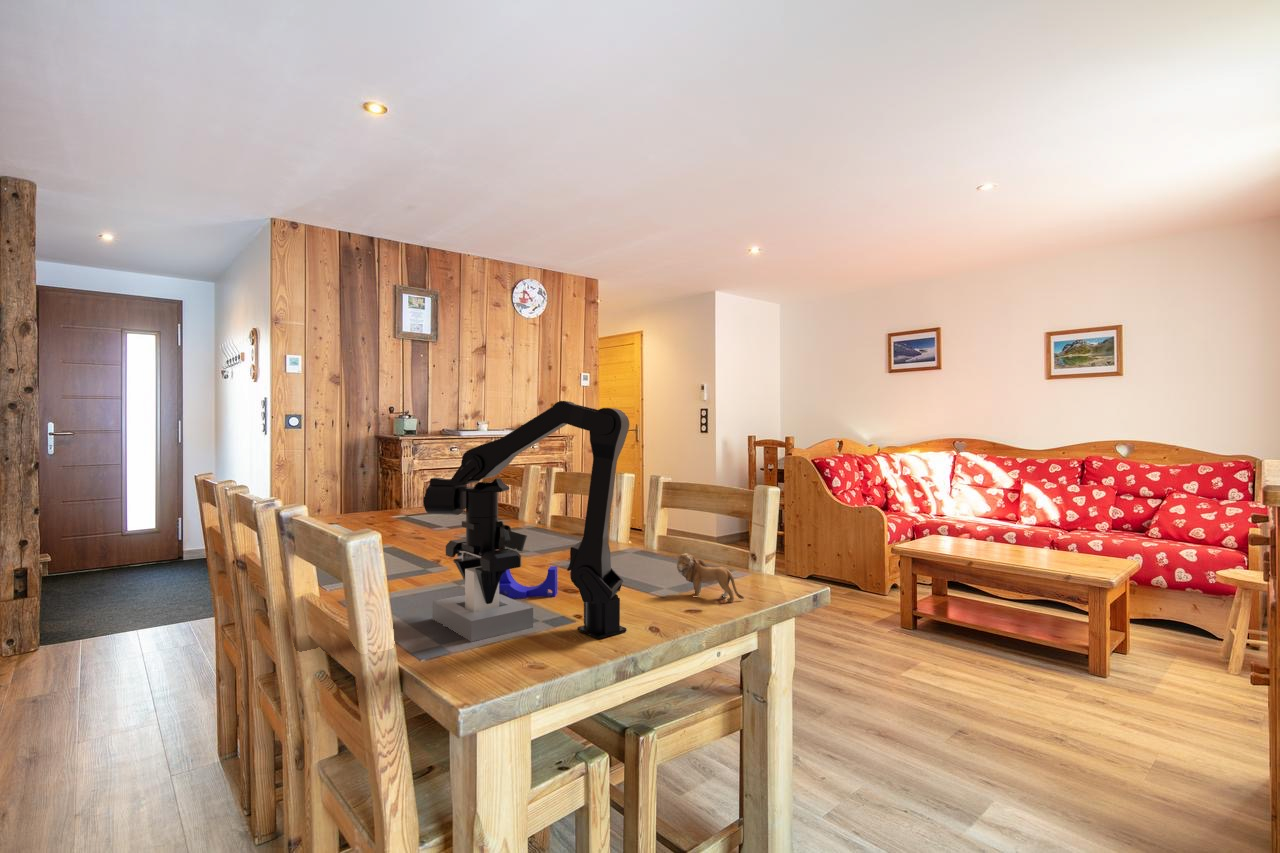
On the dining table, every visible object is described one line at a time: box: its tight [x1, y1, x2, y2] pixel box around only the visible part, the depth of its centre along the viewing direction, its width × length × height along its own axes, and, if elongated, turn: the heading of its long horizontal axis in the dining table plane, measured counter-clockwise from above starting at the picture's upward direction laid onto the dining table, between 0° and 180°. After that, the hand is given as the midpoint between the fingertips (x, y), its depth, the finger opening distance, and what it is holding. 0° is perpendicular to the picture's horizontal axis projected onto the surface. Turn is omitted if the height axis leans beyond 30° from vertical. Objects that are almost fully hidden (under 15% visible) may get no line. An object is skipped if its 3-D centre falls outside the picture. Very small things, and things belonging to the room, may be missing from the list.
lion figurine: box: [676, 552, 745, 603], centre depth 135 cm, size 15×5×9 cm, turn 69°
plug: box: [464, 566, 499, 612], centre depth 117 cm, size 4×5×9 cm
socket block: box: [432, 594, 534, 643], centre depth 117 cm, size 16×12×4 cm
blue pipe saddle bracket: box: [499, 565, 558, 600], centre depth 136 cm, size 12×4×6 cm, turn 88°
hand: (481, 600), depth 117 cm, fingers open, 5 cm apart
